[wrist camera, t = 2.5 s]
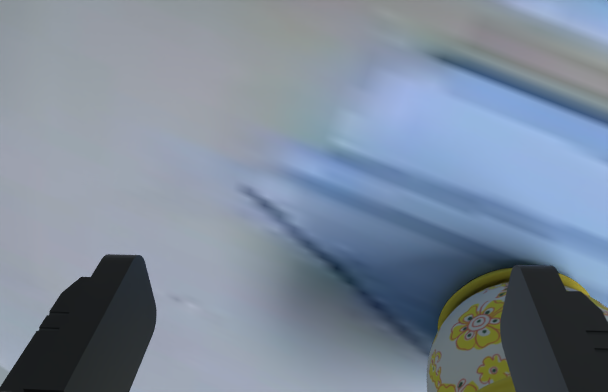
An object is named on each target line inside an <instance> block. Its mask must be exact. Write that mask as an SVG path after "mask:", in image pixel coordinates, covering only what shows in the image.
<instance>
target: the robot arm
mask: <svg viewBox="0 0 608 392" xmlns="http://www.w3.org/2000/svg"><path fill="white" fill-rule="evenodd" d="M155 324H156V304H155V300H154V296H153V292H152V288H151V284H150V280H149V276H148V272H147V268H146V264H145V261H144V259H143V257H142V256H140V255H110V254H108V255H105V256H104V257H103V258H102V260H101V261H100V263H99V264H98V266H97V268H96V269H95V271H94V273H93V274H92V276H91V277H81V278H79V279H78V280H77V281H76V282H74V283H73V284H72V285H71V286H70V287H68V288H67V289H66V290H65V291H63V292H62V293H61V295H60V296H59V298H58V299H57V301H56V302H55V304H54V305H53V307H52V308H51V310H50V314H49V316H48V315H47V316H46V318H45V319H44V321H43V322H42V324H41V325H40V327H39V328H40V329H39V331H36V333H35V335H34V336H33V338H32V339H31V341H30V342H29V344H28V345H27V347H26V348H25V350H24V351H23V353H22V354H21V356H20V358H19V359H18V361H17V362H16V364H15V365H14V367H13V368H12V370H11V371H10V373H9V374H8V376H7V377H6V379H5V381H4V382H3V384H2V385H1V387H0V392H129V391H130V388H131V386H132V383H133V381H134V379H135V376H136V374H137V371H138V369H139V366H140V364H141V362H142V359H143V357H144V354H145V352H146V349H147V347H148V345H149V342H150V340H151V337H152V335H153V332H154V329H155ZM500 335H501V342H502V347H503V350H504V354H505V357H506V360H507V364H508V367H509V371H510V374H511V377H512V381H513V384H514V387H515V391H516V392H608V321H607V320H606V318H605V316H604V314H603V312H602V310H601V309H600V308H599V307H598V306H596V305H595V304H594V303H593V302H592V301H591V300H590V299H589V298H588V297H587V296H586V295H584V294H583V293H582V292H581V291H566V289H565V287H564V284H563V282H562V280H561V278H560V276H559V274H558V272H557V270H556V269H555V267H553V266H545V265H515V266H514V267H513V268H512V271H511V275H510V279H509V284H508V288H507V292H506V297H505V301H504V305H503V310H502V314H501V321H500Z"/></svg>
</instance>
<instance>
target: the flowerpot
mask: <svg viewBox="0 0 608 392" xmlns="http://www.w3.org/2000/svg"><path fill="white" fill-rule="evenodd" d="M511 271H512V268H505V269H500V270H496V271H492V272H489V273H487V274H484V275H482V276H479V277H477V278H475V279H474V280H472V281H470V282H469V283H467V284H466V285H465V286H464V287H462V288H461V289H460V290H458V291H457V292H456V293H455V294H454V295H453V296H452V297H451V298H450V299H449V300H448V302H447V303H446V304H445V306H444V307H443V309H442V311H441V314H440V317H439V320H438V332H437V334H436V337H435V339H434V341H433V344H432V347H431V350H430V354H429V359H428V365H427V392H516V391H515V387H514V384H513V381H512V377H511V374H510V371H509V367H508V364H507V360H506V357H505V354H504V350H503V347H502V342H501V335H500V321H501V314H502V310H503V305H504V301H505V297H506V292H507V288H508V284H509V279H510V275H511ZM558 274H559V276H560V278H561V280H562V282H563V284H564V287H565V289H566V291H581V292H582V293H583V294H584V295H586V296H587V297H588V298H589V299H590V300H591V301H592V302H593V303H594V304H595V305H596V306H598V307H599V308H600V309H601V310H602V312H603V314H604V316H605V318H606V320H607V321H608V308H607V307H606V306H604V305H603V304H601V303H600V302H598V301H597V300H595V299H593V298H592V297H590V295H589V294H588V293H587V291H586V290H585V289H584V288H583V287H582V286H581V285H580V284H578V283H577V282H576V281H574V280H572V279H571V278H569V277H567V276H565V275H562V274H560V273H558Z"/></svg>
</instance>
